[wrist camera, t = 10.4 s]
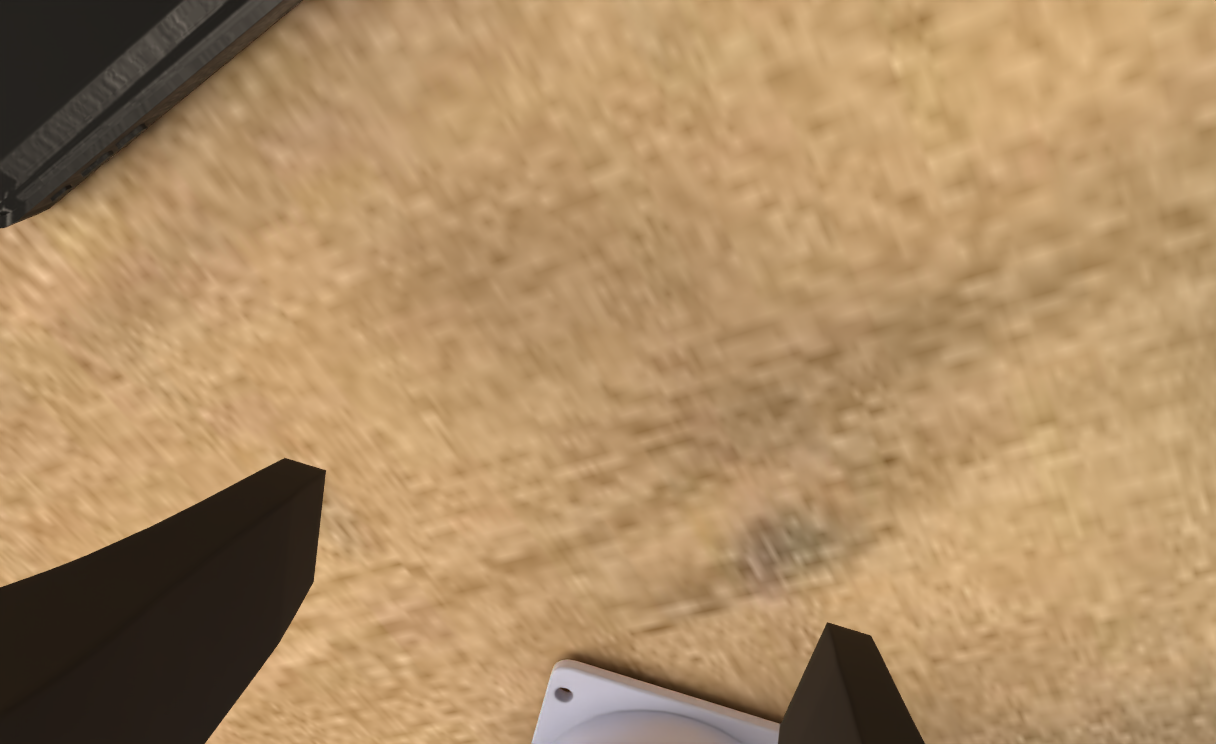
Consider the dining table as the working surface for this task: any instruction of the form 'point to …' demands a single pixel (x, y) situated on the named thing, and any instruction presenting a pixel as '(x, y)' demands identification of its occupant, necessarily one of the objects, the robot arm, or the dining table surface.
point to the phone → (101, 81)
